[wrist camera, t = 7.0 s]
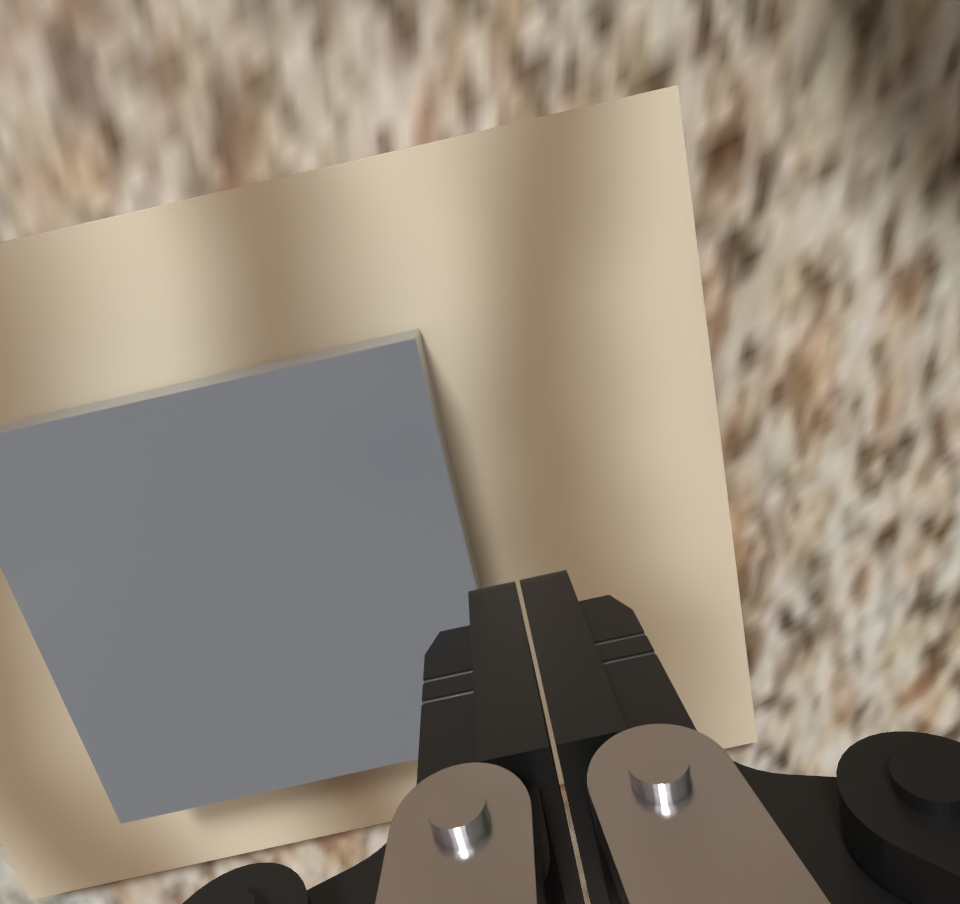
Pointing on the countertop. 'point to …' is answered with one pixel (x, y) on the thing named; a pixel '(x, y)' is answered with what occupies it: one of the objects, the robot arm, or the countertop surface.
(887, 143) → the countertop surface
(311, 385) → the block
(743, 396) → the countertop surface
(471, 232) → the board
